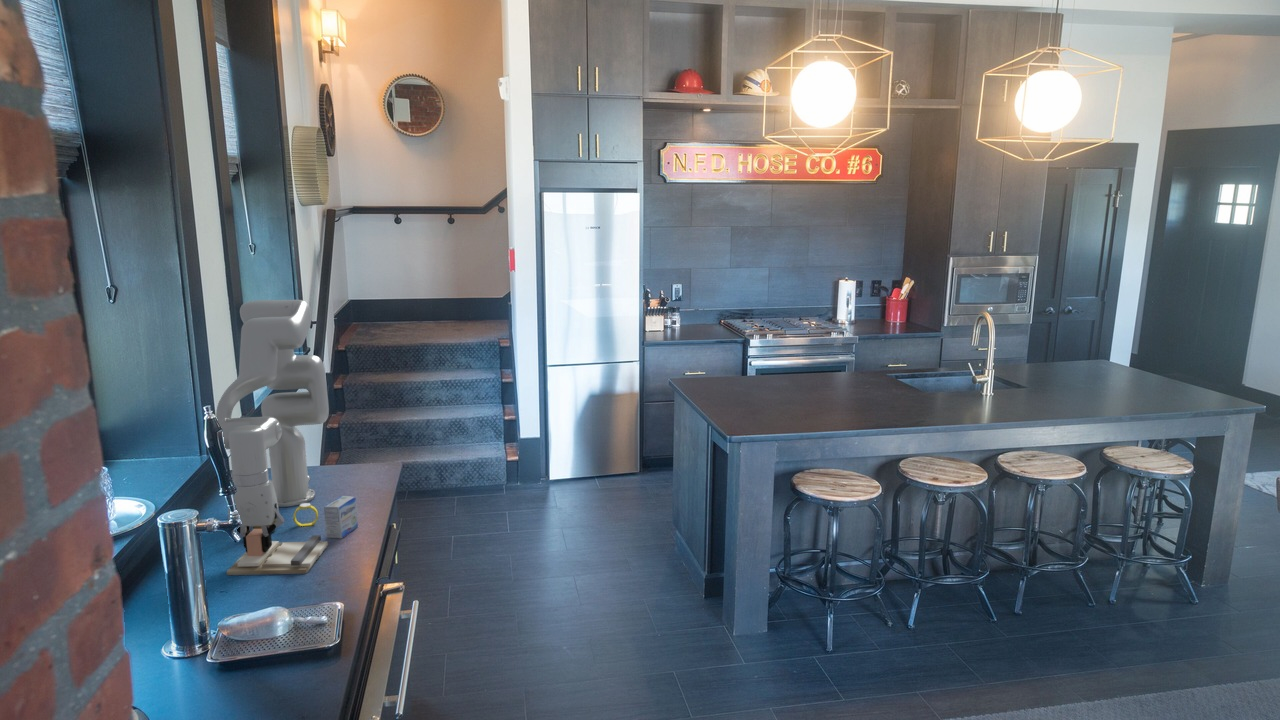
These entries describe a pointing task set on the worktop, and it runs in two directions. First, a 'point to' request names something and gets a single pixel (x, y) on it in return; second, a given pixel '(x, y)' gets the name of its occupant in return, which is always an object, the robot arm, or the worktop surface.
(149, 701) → the worktop surface
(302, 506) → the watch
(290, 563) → the board
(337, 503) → the medicine box
